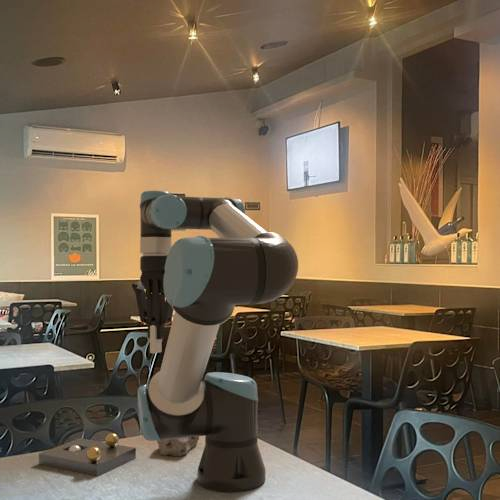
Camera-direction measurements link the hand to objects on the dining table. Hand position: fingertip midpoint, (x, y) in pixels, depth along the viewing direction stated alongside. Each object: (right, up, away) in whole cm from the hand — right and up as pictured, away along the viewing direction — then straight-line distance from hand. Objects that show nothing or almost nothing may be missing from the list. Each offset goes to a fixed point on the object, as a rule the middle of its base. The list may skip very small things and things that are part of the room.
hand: (155, 352), depth 148 cm
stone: (+4, -27, +10) cm, 29 cm away
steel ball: (-20, -25, +2) cm, 32 cm away
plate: (-17, -26, 0) cm, 31 cm away
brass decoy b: (-11, -22, +4) cm, 25 cm away
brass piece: (-13, -22, -7) cm, 27 cm away
